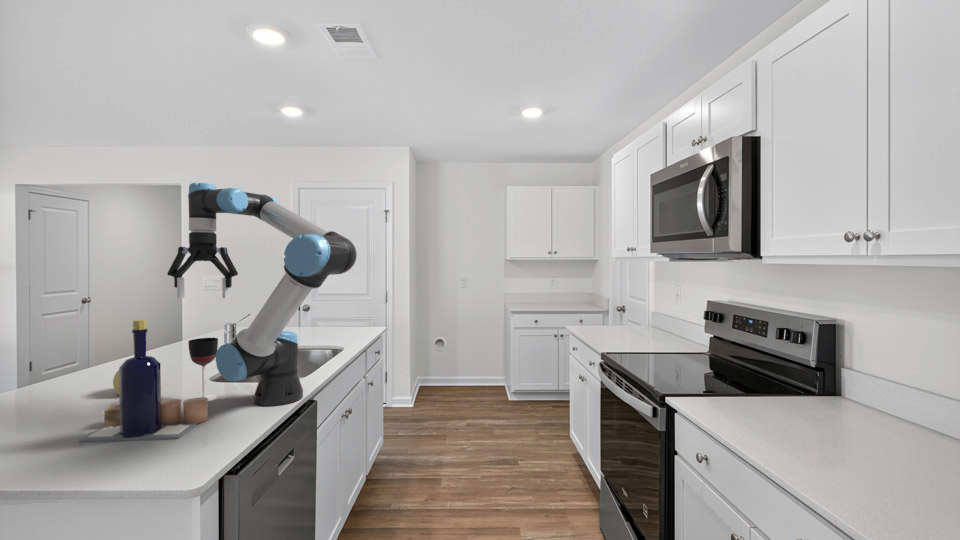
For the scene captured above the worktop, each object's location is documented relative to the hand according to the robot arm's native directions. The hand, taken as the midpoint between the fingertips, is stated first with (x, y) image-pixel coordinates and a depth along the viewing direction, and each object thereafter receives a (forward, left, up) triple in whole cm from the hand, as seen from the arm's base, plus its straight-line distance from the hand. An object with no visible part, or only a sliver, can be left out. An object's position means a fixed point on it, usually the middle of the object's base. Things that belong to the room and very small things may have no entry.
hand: (203, 298), depth 143 cm
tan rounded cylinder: (-5, +15, -35) cm, 38 cm away
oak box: (+16, +15, -35) cm, 41 cm away
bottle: (+5, +23, -34) cm, 42 cm away
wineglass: (+3, -6, -35) cm, 36 cm away
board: (+5, +23, -35) cm, 42 cm away
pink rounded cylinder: (+2, +16, -35) cm, 38 cm away
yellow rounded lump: (+30, -15, -35) cm, 48 cm away
